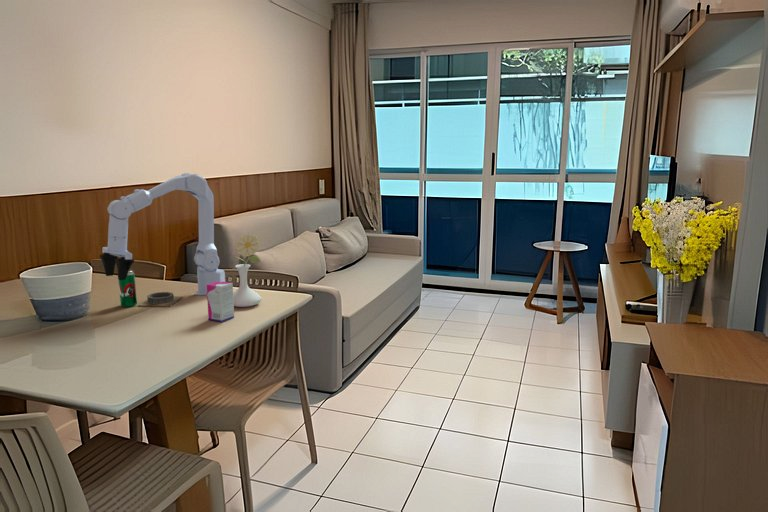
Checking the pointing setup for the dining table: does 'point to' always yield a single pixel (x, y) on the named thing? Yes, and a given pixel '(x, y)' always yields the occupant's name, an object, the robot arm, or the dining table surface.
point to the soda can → (128, 290)
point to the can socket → (160, 299)
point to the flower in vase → (244, 293)
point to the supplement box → (220, 301)
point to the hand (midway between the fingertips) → (115, 277)
